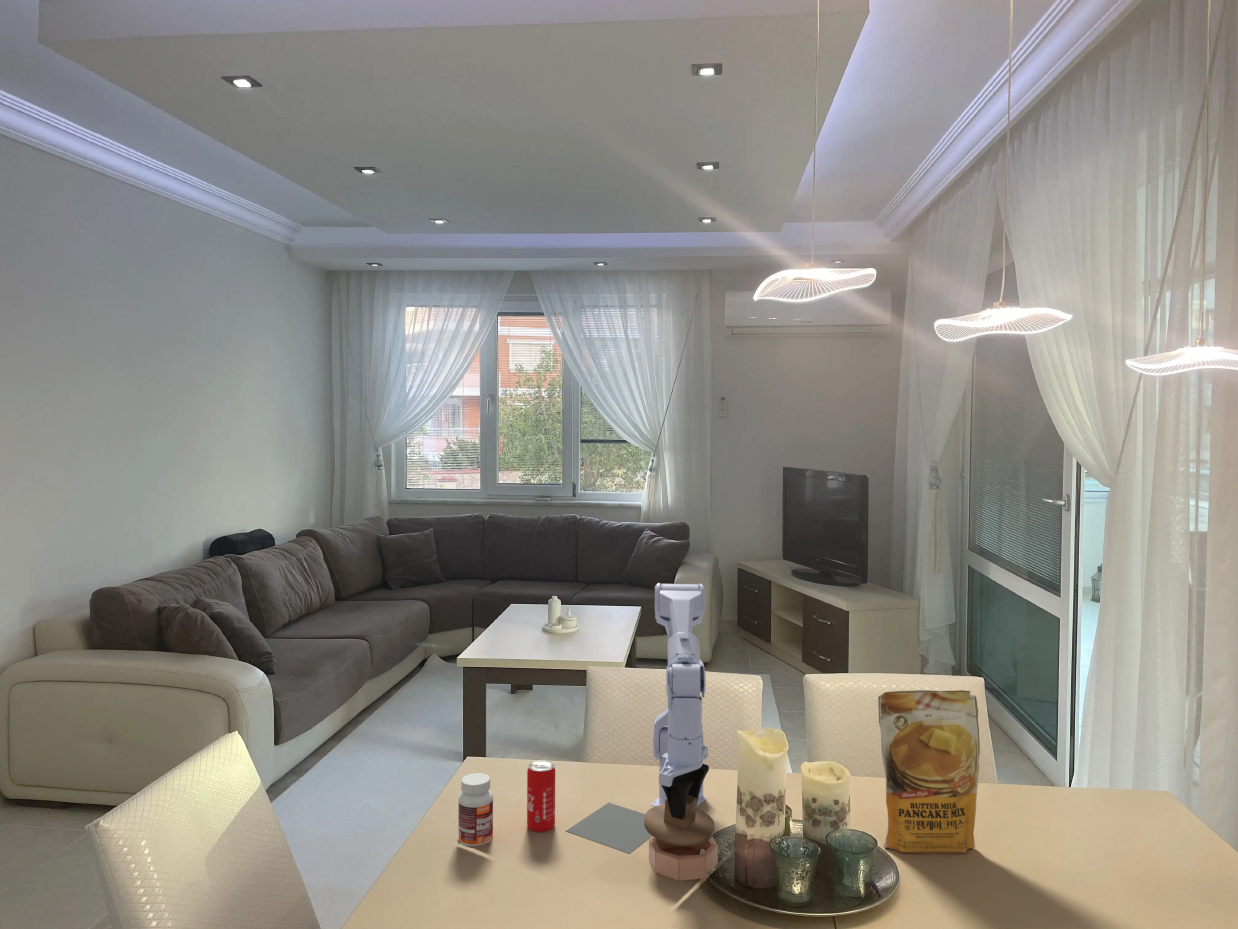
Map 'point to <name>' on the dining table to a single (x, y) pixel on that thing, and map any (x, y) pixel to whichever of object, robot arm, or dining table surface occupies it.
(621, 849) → the mat
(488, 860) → the dining table surface
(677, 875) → the bowl
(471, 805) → the pill bottle
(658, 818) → the brown disc
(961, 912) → the dining table surface
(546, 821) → the beverage can
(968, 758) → the pancake mix bag
